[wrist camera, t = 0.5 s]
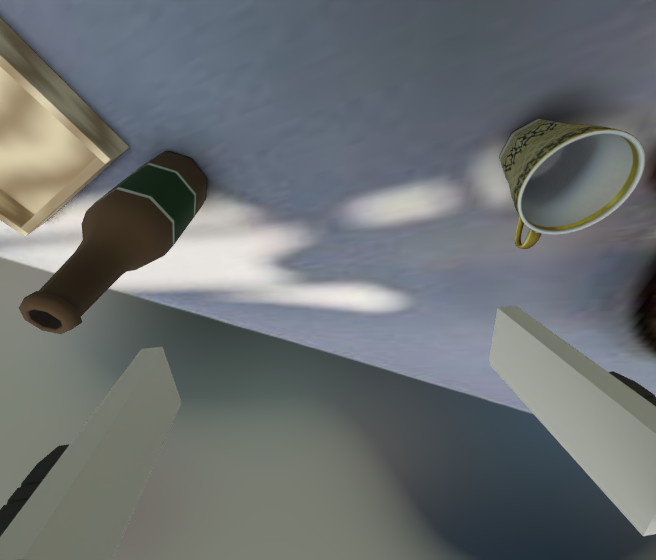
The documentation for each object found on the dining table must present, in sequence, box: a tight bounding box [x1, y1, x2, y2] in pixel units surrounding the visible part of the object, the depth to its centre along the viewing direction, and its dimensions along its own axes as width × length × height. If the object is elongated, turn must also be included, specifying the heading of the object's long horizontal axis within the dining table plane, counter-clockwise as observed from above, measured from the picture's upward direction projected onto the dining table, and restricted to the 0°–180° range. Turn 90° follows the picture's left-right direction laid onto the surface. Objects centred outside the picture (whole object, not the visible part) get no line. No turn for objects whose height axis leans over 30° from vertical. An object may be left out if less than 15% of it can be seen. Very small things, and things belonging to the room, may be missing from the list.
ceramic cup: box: [499, 119, 645, 249], centre depth 33 cm, size 13×10×10 cm
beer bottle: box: [19, 151, 207, 334], centre depth 31 cm, size 8×8×24 cm
